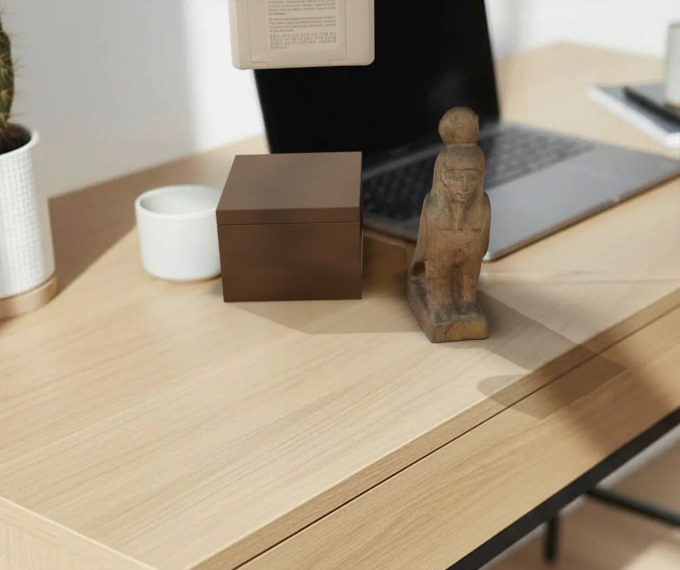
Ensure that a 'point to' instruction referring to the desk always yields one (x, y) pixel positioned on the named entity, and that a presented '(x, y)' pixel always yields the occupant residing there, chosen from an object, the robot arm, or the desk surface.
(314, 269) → the lidded wooden box
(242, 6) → the photo printer
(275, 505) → the desk surface
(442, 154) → the worn brown figurine
